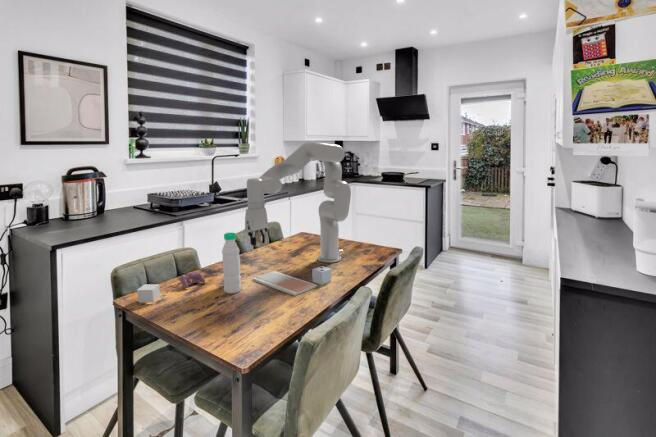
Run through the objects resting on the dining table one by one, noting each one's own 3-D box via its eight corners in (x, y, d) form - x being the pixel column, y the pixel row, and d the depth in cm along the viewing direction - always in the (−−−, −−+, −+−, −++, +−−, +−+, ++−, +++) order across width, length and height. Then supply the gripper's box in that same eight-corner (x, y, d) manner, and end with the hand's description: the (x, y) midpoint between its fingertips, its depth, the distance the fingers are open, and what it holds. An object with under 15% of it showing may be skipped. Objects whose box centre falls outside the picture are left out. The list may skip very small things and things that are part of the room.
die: (321, 278, 179) (321, 265, 178) (331, 281, 175) (331, 268, 174) (312, 281, 175) (312, 268, 174) (322, 285, 171) (322, 271, 170)
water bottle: (224, 294, 160) (220, 236, 155) (224, 288, 167) (220, 232, 162) (241, 293, 162) (239, 234, 157) (240, 286, 169) (238, 230, 164)
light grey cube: (160, 298, 157) (159, 284, 156) (154, 304, 151) (152, 290, 150) (145, 298, 157) (144, 284, 156) (138, 304, 151) (137, 289, 150)
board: (274, 272, 186) (274, 270, 186) (316, 286, 168) (316, 284, 168) (252, 280, 177) (252, 277, 176) (295, 295, 159) (295, 293, 159)
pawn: (258, 243, 184) (258, 228, 183) (264, 244, 181) (263, 230, 180) (251, 244, 181) (250, 230, 180) (256, 246, 178) (256, 231, 177)
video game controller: (202, 285, 175) (197, 270, 176) (207, 282, 172) (202, 268, 173) (182, 291, 168) (176, 276, 168) (187, 289, 165) (181, 273, 165)
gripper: (265, 202, 186) (266, 239, 190) (235, 206, 174) (237, 246, 177) (275, 204, 181) (276, 241, 185) (245, 208, 169) (247, 249, 172)
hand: (257, 243), depth 181 cm, fingers closed on pawn, 4 cm apart
